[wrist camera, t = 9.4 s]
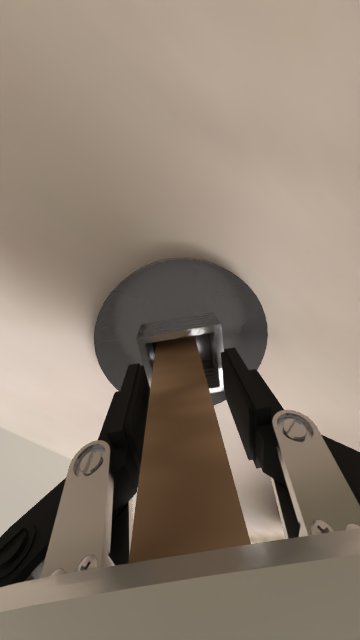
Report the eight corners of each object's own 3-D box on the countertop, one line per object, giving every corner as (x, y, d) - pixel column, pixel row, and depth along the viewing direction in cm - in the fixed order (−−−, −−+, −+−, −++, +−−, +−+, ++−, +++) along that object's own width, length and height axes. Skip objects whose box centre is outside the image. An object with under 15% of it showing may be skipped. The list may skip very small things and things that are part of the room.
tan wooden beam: (193, 331, 13) (256, 565, 4) (197, 361, 14) (256, 608, 5) (156, 337, 13) (125, 586, 4) (163, 367, 14) (153, 623, 5)
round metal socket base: (260, 243, 12) (290, 243, 9) (259, 388, 17) (278, 420, 14) (74, 275, 12) (44, 285, 9) (125, 410, 17) (115, 446, 14)
